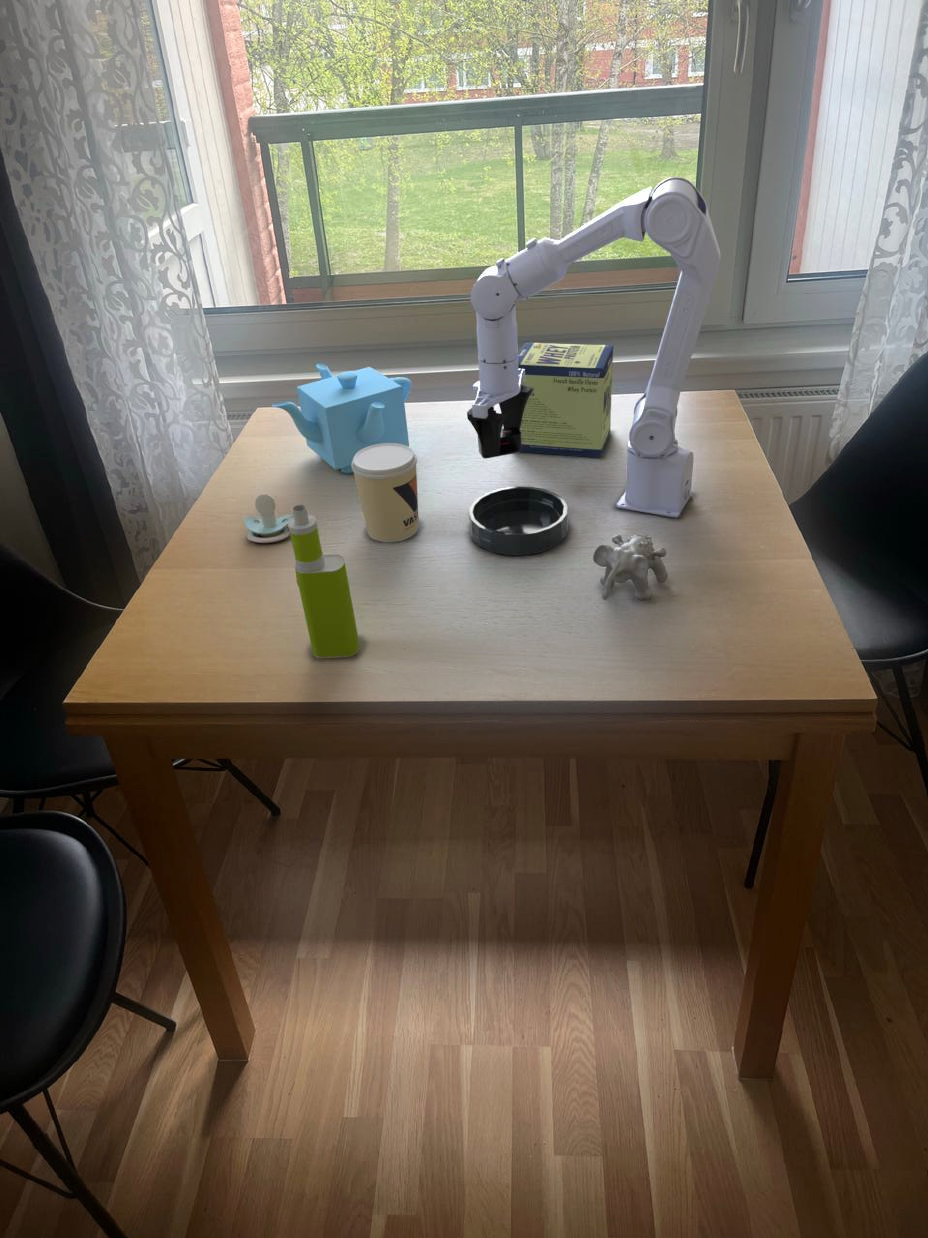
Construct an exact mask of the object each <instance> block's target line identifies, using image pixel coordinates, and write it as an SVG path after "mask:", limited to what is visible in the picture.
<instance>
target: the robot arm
mask: <svg viewBox="0 0 928 1238" xmlns="http://www.w3.org/2000/svg"><path fill="white" fill-rule="evenodd" d="M652 189H653V186H648V187H646V188H645V189H642V190H640V191H638V192H637V193H635V194H632V195H631V196H629V197H628V198H625V199H623V200H621V201H620V202H618V203H616V204H615V205H613V206H612V207H611V208H609V209H608V210H606V211H604V212H603V213H601V214H600V215H598V216H596V217H595V218H593V219H592V220H590V221H588V222H587V223H584V225H582V226H581V227H579V228H577V229H576V230H574V231H573V232H571V233H569V234H567V235H566V236H565V237H563V238H561V239H560V240H555V239H552V238H548V237H543V238H542V239H540V240H538V239H537V238H536V237H533V238H531V239H530V240H528V241H527V243H525V248H524V249H523V250H520V251H519V252H517V253H516V254H514V255H513V256H511V257H509V258H507V259H506V260H505V258H503V257H502V258H500V259H498V260H497V261H496V263H495V265H493V266H490V267H488V268H486V269H485V270H484V271H483V272H482V274H481V275H480V276H479V278H477V280H476V282H475V283H474V284H473V285H472V288H471V292H470V303H471V307H472V308H473V310H474V311H475V315H476V316H475V317H476V343H477V344H476V345H477V359H478V360H477V361H478V375H479V376H478V378H479V380H478V381H476V382H475V383H474V384H473V385H472V390H473V391H476V397H475V400H474V402H473V403H472V404H471V408H470V409H468V410H467V412H466V418H467V420H468V422H470V424H471V425H472V427H473V429H474V431H475V433H476V434H477V438H478V437H479V440H480V443H481V446H482V449H483V452H484V454H485V455H488V456H494V457H493V458H497V456H498V455H499V451H500V440H501V431H502V429H505V428H511V427H517V428H518V429H519V430H520V427H521V422H522V417H523V412H524V409H525V406H526V403H527V400H528V398H529V396H530V394H531V392H532V389H531V387H530V386H524V385H522V384H523V383H524V382H525V369H518V353H519V345H518V323H517V317H516V316H517V315H516V304H515V303H516V302H524V301H526V300H528V299H529V298H531V297H533V296H535V295H537V294H538V293H540V292H542V291H544V290H546V289H548V288H549V287H551V286H553V285H555V284H557V283H558V282H560V281H562V280H563V279H565V277H566V274H567V270H568V267H569V265H570V264H573V263H574V262H576V261H578V260H580V259H582V258H584V257H586V256H589V255H590V254H592V253H594V252H596V251H598V250H600V249H602V248H604V247H605V246H608V245H609V244H612V243H614V242H616V241H617V240H619V239H622V238H623V239H628V240H633V241H636V242H644V239H645V237H646V234H647V236H648V238H649V239H650V240H651V241H652V242H654V243H655V244H656V245H657V246H659V247H660V248H661V249H663V250H665V251H666V252H667V253H669V254H670V256H671V258H672V259H673V260H674V262H675V263H676V265H677V266H678V267H679V269H680V273H679V277H678V281H677V284H676V288H675V291H674V295H673V298H672V301H671V306H670V309H669V312H668V315H667V319H666V323H665V326H664V329H663V333H662V335H661V336H662V337H661V340H660V344H659V347H658V351H657V353H656V357H655V361H654V364H653V368H652V372H651V375H650V377H649V381H648V383H647V387H646V389H645V392H644V393H643V395H641V397H639V399H638V400H637V401H636V403H635V405H634V408H633V419H632V423H631V427H630V429H629V432H628V433H629V434H628V439H629V440H628V441H627V450H626V472H625V473H626V475H625V491H624V493H623V494H622V496H621V497H620V498H619V499H618V501H617V502H616V505H615V507H616V508H618V509H623V510H629V511H635V512H640V513H644V514H645V513H646V514H652V515H658V516H664V517H668V518H669V517H670V518H679V517H680V515H681V513H682V511H683V509H684V508H685V507H686V504H687V503H688V501H689V499H690V498H691V496H692V481H693V470H694V451H691V450H688V449H686V448H682V446H679V444H678V443H679V442H678V440H677V439H676V433H675V429H676V421H677V417H678V404H679V400H680V396H681V391H682V388H683V385H684V382H685V379H686V376H687V373H688V369H689V366H690V363H691V361H692V356H693V353H694V350H695V347H696V343H697V340H698V338H699V334H700V332H701V328H702V325H703V321H704V319H705V318H704V317H705V315H706V312H707V308H708V306H709V302H710V299H711V296H712V293H713V289H714V286H715V282H716V280H717V277H718V273H719V271H720V266H721V256H722V255H721V250H720V246H719V243H718V239H717V237H716V233H715V230H714V225H713V223H712V219H711V216H710V212H709V208H708V203H707V201H706V199H705V198H704V196H703V195H702V194H701V192H700V191H699V189H697V187H696V186H695V185H694V183H692V182H691V181H690V180H689V179H687V178H685V177H682V176H673V177H672V176H671V177H668V178H665V179H663V180H662V181H660V182H659V183H658V184H657V185H656V186H655V188H654V189H653V191H652ZM496 405H498V406H499V409H500V412H497V410H495V406H496ZM498 457H499V456H498Z"/></svg>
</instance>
